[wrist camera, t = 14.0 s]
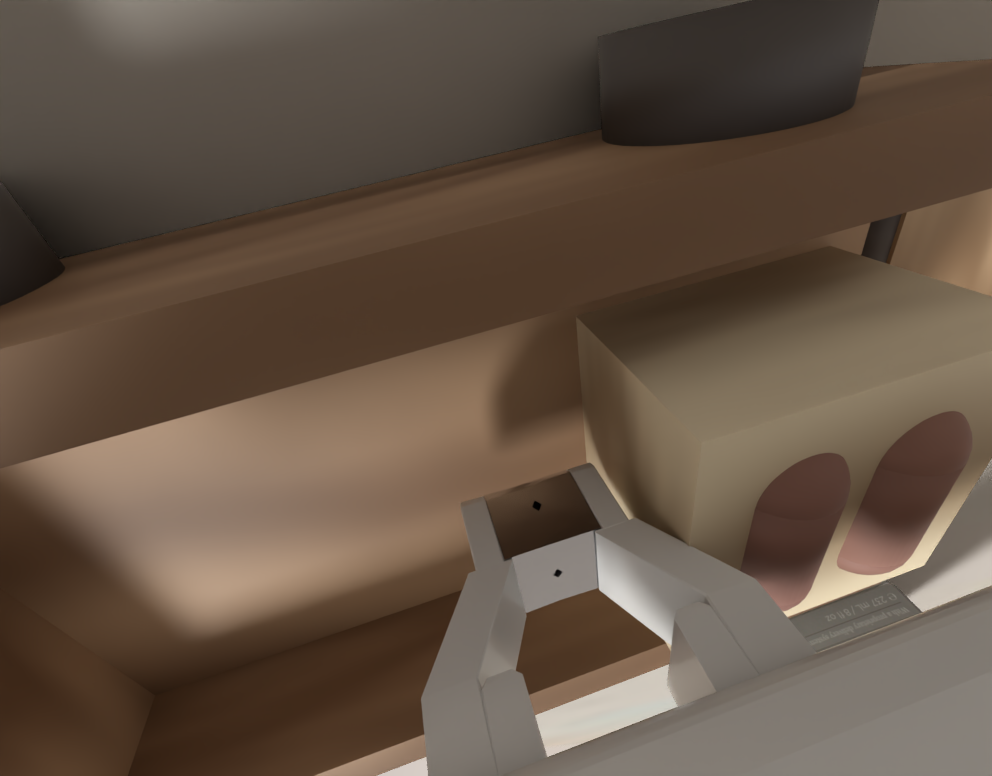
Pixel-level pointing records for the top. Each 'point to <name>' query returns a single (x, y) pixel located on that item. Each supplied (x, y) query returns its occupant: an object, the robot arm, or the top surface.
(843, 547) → the block
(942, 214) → the tailgate
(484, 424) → the cart bed
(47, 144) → the top surface
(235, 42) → the top surface
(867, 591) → the skincare box
